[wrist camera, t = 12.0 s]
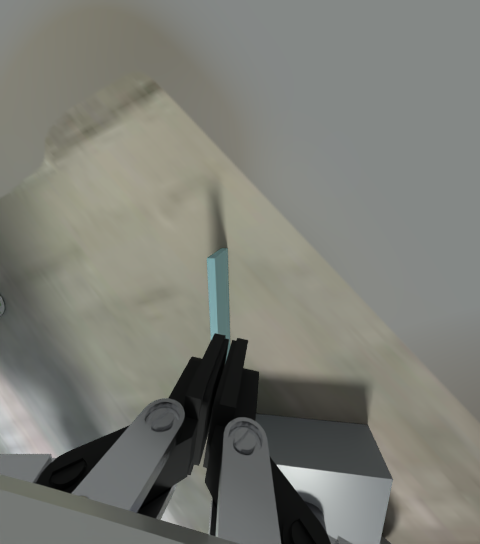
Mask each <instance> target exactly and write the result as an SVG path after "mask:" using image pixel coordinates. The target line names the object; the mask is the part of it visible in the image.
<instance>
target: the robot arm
mask: <svg viewBox="0 0 480 544" xmlns="http://www.w3.org/2000/svg"><path fill="white" fill-rule="evenodd" d="M225 338H226V335H221V334H217V333H215V334H214V336H213V338H212V340H211V342H210V344H209V346H208V348H207V350H206V353H205V355H204V357H203V359H201V358H196V357H191V359H190V360H189V362H188V364H187V366H186V368H185V369H184V371H183V373H182V375H181V377H180V378H179V380H178V382H177V384H176V386H175V387H174V389H173V391H172V393H171V395H170V396H169V398H167V399H159V400H156V401H154V402H152V403H150V404H149V405H148V406H147V407H145V408H144V410H143V411H142V412H141V413H140V414H139V415H138V417H137V418H136V419H135V420H134V421H133V422H132V424H131V425H129V426H127V427H125V428H122V429H120V430H118V431H115V432H113V433H111V434H108V435H106V436H104V437H101V438H99V439H96V440H94V441H92V442H89V443H87V444H85V445H82V446H80V447H78V448H75V449H73V450H71V451H68V452H66V453H65V454H63V455H61V456H59V457H58V458H52V457H51V454H0V544H352V543H350V542H349V541H347V540H345V539H343V538H342V537H340V536H338V538H337V539H335V538H333V537H331V536H330V535H328V534H327V532H326V531H325V529H324V528H323V526H322V524H321V523H320V521H319V520H318V519H317V517H316V516H315V515H314V514H313V512H312V511H311V510H310V508H309V507H308V506H307V504H306V503H305V502H304V500H303V499H302V498H301V496H300V495H299V494H298V493H297V491H296V490H295V489H294V487H293V486H292V485H291V483H290V482H289V481H288V479H287V478H286V477H285V476H284V474H283V473H282V472H281V470H280V469H279V468H278V466H277V465H276V464H275V462H274V461H273V460H272V458H271V457H270V456H269V449H268V441H267V437H266V433H265V431H264V430H263V428H262V427H261V426H260V425H259V424H258V423H257V422H256V421H255V420H256V407H257V393H258V380H259V372H257V371H253V370H249V369H244V368H243V366H244V360H245V355H246V349H247V344H248V340H244V339H240V338H237V341H235V340H232V343H231V346H230V350H229V353H228V356H227V350H228V344H229V339H225ZM226 356H227V360H226ZM225 362H226V363H225ZM207 436H208V440H207ZM206 440H207V446H206V452H205V458H204V465H203V467H205V468H207V472H206V478H205V483H206V485H207V487H208V489H209V491H210V493H211V495H212V501H211V511H210V522H209V534H206V533H202V532H199V531H196V530H192V529H189V528H186V527H182V526H179V525H175V524H172V523H169V522H165V521H162V520H161V518H162V515H163V513H164V511H165V509H166V507H167V505H168V503H169V501H170V499H171V497H172V495H173V493H174V490H175V487H176V484H177V483H178V482H180V481H181V480H183V479H184V478H186V477H187V475H191V472H192V469H193V466H194V465H198V466H199V464H200V461H201V457H202V454H203V450H204V447H205V443H206Z"/></svg>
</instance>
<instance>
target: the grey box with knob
mask: <svg viewBox="0 0 480 544" xmlns="http://www.w3.org/2000/svg"><path fill="white" fill-rule="evenodd" d="M255 421H256V422H257V423H258V424H259V425H260V426H261V427H262V428H263V430H264V431H265V433H266V437H267V441H268V449H269V456H270V457H271V458H272V460H273V461H274V462H275V464H276V465H277V466H278V468H279V469H280V470H281V472H282V473H283V474H284V476H285V477H286V478H287V479H288V481H289V482H290V483H291V485H292V486H293V487H294V489H295V490H296V491H297V493H298V494H299V495H300V496H301V498H302V499H303V500H304V502H305V503H306V504H307V506H308V507H309V508H310V510H311V511H312V512H313V514H314V515H315V516H316V517H317V519H318V520H319V521H320V523H321V524H322V526H323V528H324V529H325V531H326V532H327V534H328V535H330V536H331V537H333V538H335V539H337V538H338V536H340V537H342V538H343V539H345V540H347V541H349V542H350V543H352V544H380V540H381V535H382V530H383V525H384V521H385V516H386V511H387V506H388V501H389V496H390V491H391V486H392V481H393V479H392V476H391V474H390V472H389V470H388V468H387V466H386V463H385V461H384V459H383V457H382V455H381V452H380V450H379V448H378V446H377V444H376V442H375V439H374V437H373V435H372V433H371V431H370V428H369V426H368V425H363V424H353V423H343V422H333V421H323V420H313V419H303V418H293V417H283V416H273V415H263V414H256V420H255Z"/></svg>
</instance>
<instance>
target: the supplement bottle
mask: <svg viewBox="0 0 480 544" xmlns="http://www.w3.org/2000/svg"><path fill="white" fill-rule="evenodd" d="M4 309H5V305H4V301H3V299H2V297H1V296H0V316H1V315H2V314H3V312H4Z"/></svg>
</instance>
